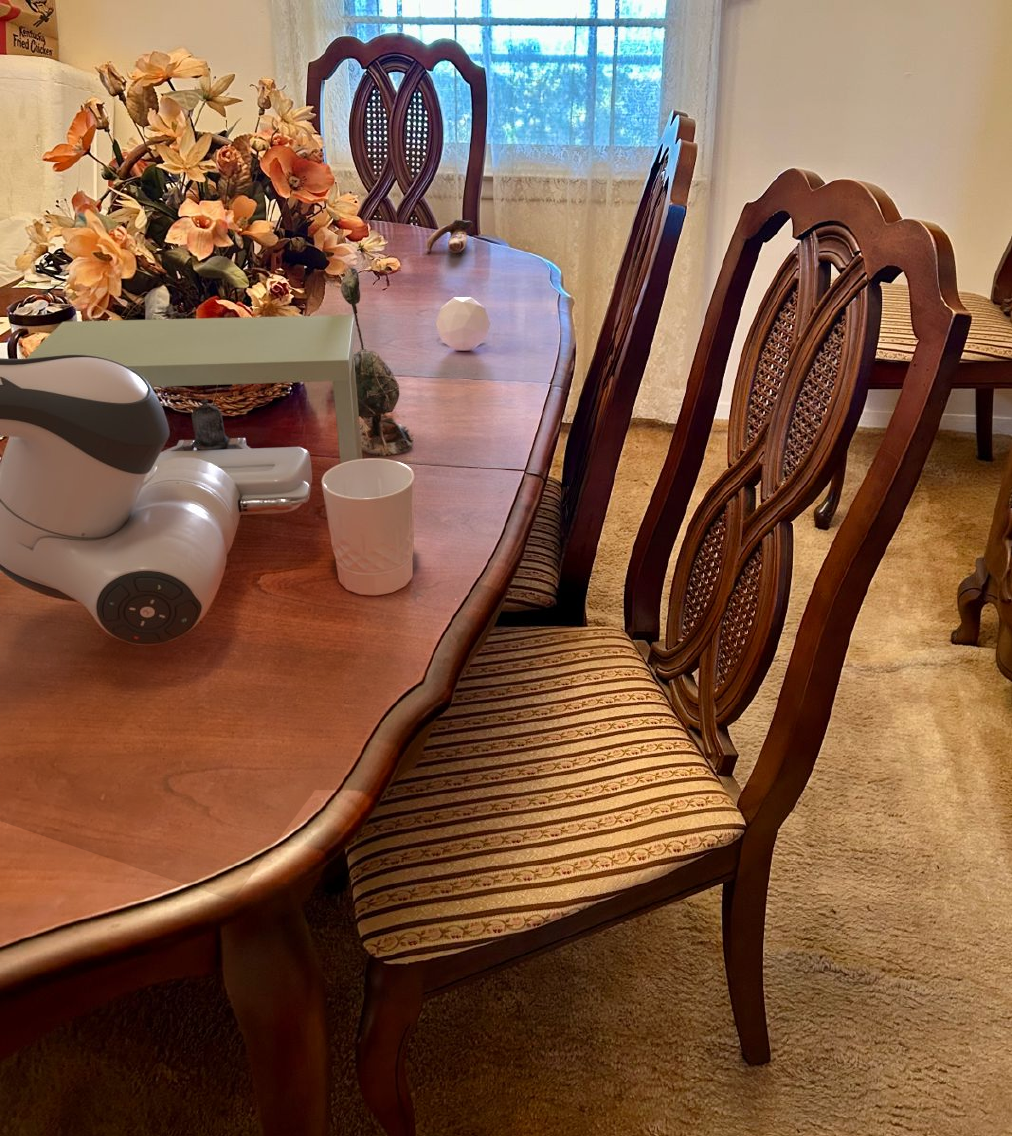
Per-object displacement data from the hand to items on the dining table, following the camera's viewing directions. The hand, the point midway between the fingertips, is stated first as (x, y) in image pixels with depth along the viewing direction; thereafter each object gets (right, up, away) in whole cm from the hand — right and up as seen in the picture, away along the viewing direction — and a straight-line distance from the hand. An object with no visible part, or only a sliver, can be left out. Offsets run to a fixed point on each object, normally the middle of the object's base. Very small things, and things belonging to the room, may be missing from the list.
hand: (213, 445), depth 93 cm
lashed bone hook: (+18, +54, +101) cm, 116 cm away
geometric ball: (+23, +20, +46) cm, 55 cm away
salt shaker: (0, -6, +3) cm, 7 cm away
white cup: (+17, -13, -8) cm, 23 cm away
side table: (0, -5, +4) cm, 7 cm away
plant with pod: (+14, +2, +16) cm, 22 cm away
